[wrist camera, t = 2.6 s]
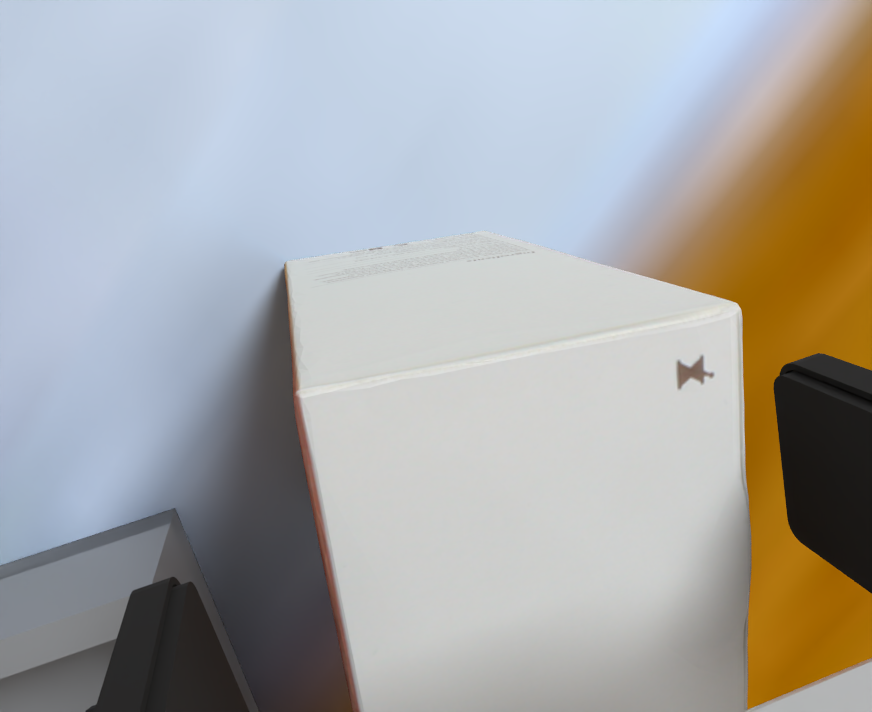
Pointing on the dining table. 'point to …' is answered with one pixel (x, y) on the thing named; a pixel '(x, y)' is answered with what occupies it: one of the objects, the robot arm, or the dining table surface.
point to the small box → (524, 479)
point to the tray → (87, 612)
